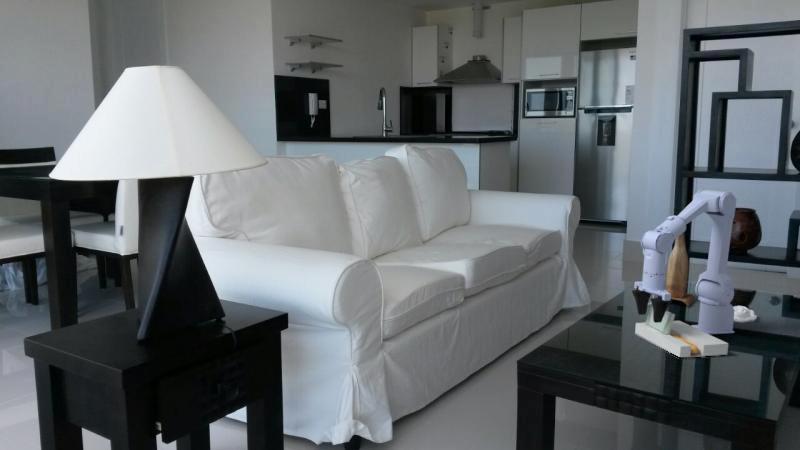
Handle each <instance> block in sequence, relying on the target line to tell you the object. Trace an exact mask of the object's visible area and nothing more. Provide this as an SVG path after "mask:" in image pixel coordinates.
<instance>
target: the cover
mask: <svg viewBox="0 0 800 450" xmlns="http://www.w3.org/2000/svg"><path fill="white" fill-rule="evenodd" d="M675 316H676V314H675V313H673V312H670V311H668V310H666V312H665V314H664V316H663V319H662V322H659V323H655V322H654V320H653V305H652V303H651V304H650V307H649V311H648V314H647V317H646V320H645V323H646V324H648V325H650V326H652V327H654V328H656V329H658V330H660V331H662V332H663V333H665V334H670V330H671V327H672V324H673V321H675Z"/></svg>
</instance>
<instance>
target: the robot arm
mask: <svg viewBox="0 0 800 450" xmlns="http://www.w3.org/2000/svg"><path fill="white" fill-rule="evenodd" d="M737 200H738V199H737V198H736V196H735V195H734V194H733V193H732V192H730V191H723V190H722V191H721V190H713V189H706V188H701V189H699V190H698V191H697V192H695V193H694V194H693V196H692V201H691V202H690V203H689V204H687V206H686V207H684V209H683V210H682V211H680V212H679V214H678V215H669V216H668V217H666V219H665V220H664V221H663V222H662V223H661V224H660V225H658V226H657V227H655V229H653V230H647V232H645V233H643V235H642V238H641V240H640V246H641V248H642V254H643V267H642V277H641V278H642V279H641V281H640V280H639V281H637V280H636V281H634V286H633V287H634V289H633V290H631V293H632V296H633V295H634V297H633V299H634V298H635V300H636V301H635V300H634V301H635V304H636V309H637V314H638V315H639V316H641V315H646V314H647V311H648V306H649V305H648V303H649V302H652V303H651V304H652V305H653V320H654V322H655V323H659V322H662V319H663V316H664V314H665V312H666V311H668V308H669V306H671V304H672V303H673V299H671V294H670V293H668V292H667V291H666V288H664V282H665V268H666V259H667V257H666V256H667V253H668V252H669V251H670V250H671V249H672V247H673V246H672V245H673V244H674V243H675V240H676V238H677V237H678V236H679V235H681V234H682V233H683V232H684V233H685V231H686V230H687V224H689V223H691V222H692V221H693V220H695V219H696V218H697V217H699V216H700V215H702V214H703V213H704V214H706V215H708V216H709V218H710V219H711V220H712V225H711V226H712V228H711V232H710V233H711V235H710V242H709V247H708V248H709V249H708V257H707V258H708V259H707V266H706V270H705V271H703V272H701V273H700V274H699V275H698V281H697V282H696V285H695V289H694V292H695V295H696V297H698V301H700V302H699V303H700V304H699V312H698V313H699V314H698V322H697V323H698V324H691V326H692V327H694V328H696V329H698V330H700V331H703V332H705V333H707V334H709V335H719V334H720V335H721V334H734V333H735V331H734V330H733V329H734V322H735V321H734V308H733V307H734V306H733V305H732V303H731V302H732V301H733V299H734V296H735V291H734V280H733V278H732V277H731V276H730V275H728V273H727V266H728V260H729V252H730V246H731V245H730V244H731V237H732V230H733V223H734V218H735V214H736V207H737V206H736V205H737ZM635 289H636V290H635ZM651 295H652V296H653V295H655V298H652V297H651Z"/></svg>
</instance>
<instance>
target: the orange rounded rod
mask: <svg viewBox="0 0 800 450" xmlns="http://www.w3.org/2000/svg"><path fill="white" fill-rule="evenodd" d="M669 335H671V336H673V337H675V338H677V339H679V340H681V341H682V342H684V343H686V344H688V345H690V346H691V354H696V353H697V352H698V347H697V346H696V345H694V344H692V343H690V342H688V341H686V340H684V339H682V338H680V337H678V336H676V335H674V334H669Z"/></svg>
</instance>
